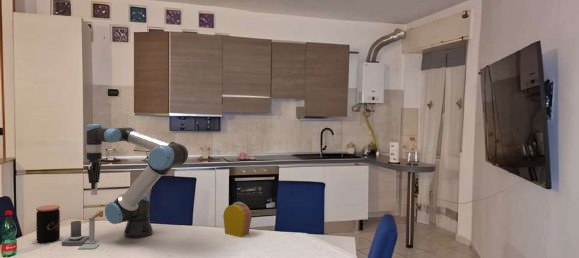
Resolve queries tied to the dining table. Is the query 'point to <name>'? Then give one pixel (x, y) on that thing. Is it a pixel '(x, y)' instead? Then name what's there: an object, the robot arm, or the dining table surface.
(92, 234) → the socket
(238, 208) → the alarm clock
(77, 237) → the plug
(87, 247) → the mat
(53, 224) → the coffee jar
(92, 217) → the clip
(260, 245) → the dining table surface
